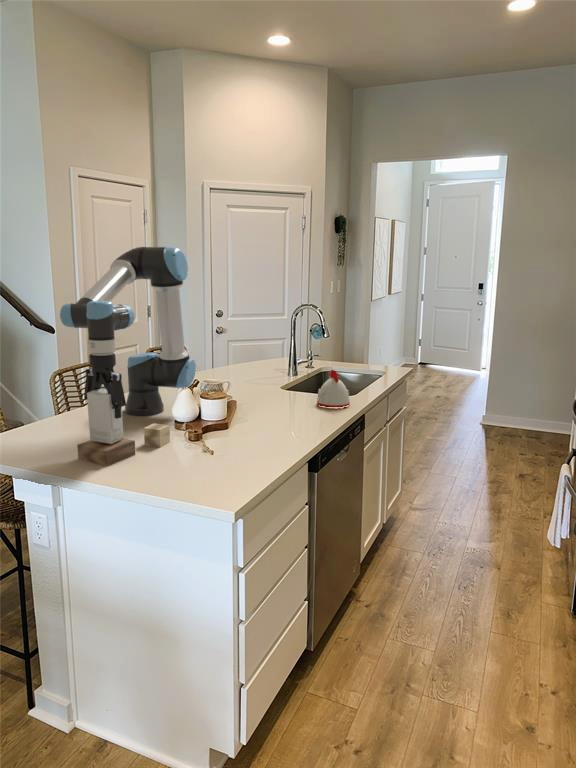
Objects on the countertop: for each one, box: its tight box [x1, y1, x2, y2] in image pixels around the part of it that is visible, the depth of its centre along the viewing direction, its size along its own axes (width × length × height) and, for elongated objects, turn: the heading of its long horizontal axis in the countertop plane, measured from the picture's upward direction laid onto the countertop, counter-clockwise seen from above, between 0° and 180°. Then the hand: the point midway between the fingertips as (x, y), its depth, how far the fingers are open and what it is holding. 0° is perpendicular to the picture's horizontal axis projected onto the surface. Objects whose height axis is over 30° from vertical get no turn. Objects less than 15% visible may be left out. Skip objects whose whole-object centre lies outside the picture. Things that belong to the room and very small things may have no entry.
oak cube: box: [143, 422, 171, 448], centre depth 195 cm, size 6×6×6 cm
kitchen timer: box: [316, 369, 350, 407], centre depth 249 cm, size 14×14×15 cm
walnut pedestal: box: [77, 437, 136, 467], centre depth 181 cm, size 12×12×5 cm
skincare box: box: [86, 387, 124, 444], centre depth 179 cm, size 8×7×16 cm
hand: (105, 425), depth 180 cm, fingers open, 9 cm apart
